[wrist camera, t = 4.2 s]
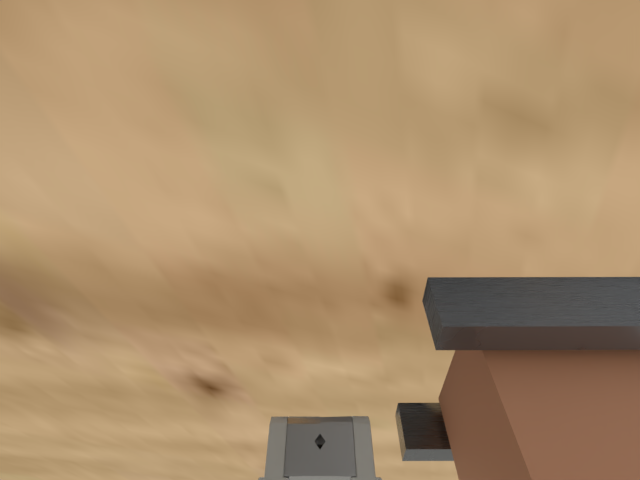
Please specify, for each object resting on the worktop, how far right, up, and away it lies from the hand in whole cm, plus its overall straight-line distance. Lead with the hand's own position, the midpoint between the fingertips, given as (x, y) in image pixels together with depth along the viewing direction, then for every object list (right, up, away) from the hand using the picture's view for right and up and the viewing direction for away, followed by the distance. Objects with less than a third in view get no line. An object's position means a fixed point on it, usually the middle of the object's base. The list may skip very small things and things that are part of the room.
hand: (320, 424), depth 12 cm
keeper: (+7, +1, +2) cm, 7 cm away
